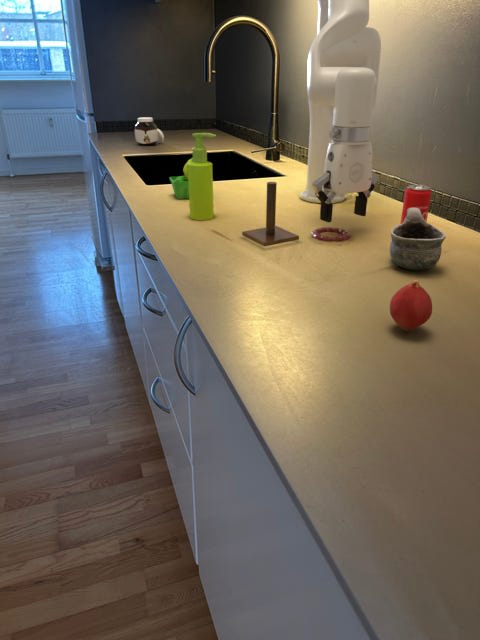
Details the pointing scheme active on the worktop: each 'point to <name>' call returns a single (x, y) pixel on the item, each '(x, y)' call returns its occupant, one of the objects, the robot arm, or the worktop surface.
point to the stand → (270, 224)
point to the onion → (411, 306)
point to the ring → (317, 236)
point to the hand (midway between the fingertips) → (342, 217)
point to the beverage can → (416, 200)
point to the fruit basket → (181, 183)
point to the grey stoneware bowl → (415, 242)
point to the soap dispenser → (200, 181)
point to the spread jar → (147, 132)
